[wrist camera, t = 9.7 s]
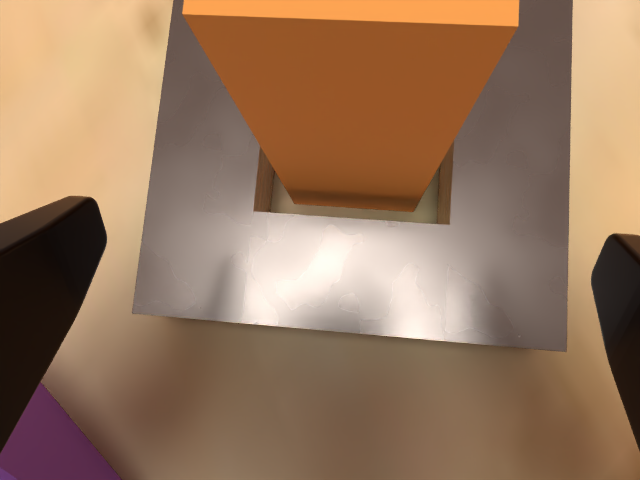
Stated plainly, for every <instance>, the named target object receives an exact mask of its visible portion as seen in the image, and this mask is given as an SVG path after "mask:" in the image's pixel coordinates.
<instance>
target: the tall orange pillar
mask: <svg viewBox="0 0 640 480" xmlns="http://www.w3.org/2000/svg"><path fill="white" fill-rule="evenodd" d="M182 15H183V16H184V18H185V20H186V21H187V23H188V25H189V26H190V28H191V30H192V32H193V33H194V35H195V37H196V38H197V40H198V42H199V43H200V45H201V47H202V48H203V50H204V52H205V53H206V55H207V57H208V59H209V60H210V62H211V64H212V65H213V67H214V69H215V70H216V72H217V74H218V75H219V77H220V79H221V80H222V82H223V84H224V86H225V87H226V89H227V91H228V92H229V94H230V96H231V97H232V99H233V101H234V102H235V104H236V106H237V108H238V109H239V111H240V113H241V114H242V116H243V118H244V119H245V121H246V123H247V124H248V126H249V128H250V129H251V131H252V133H253V135H254V136H255V138H256V140H257V141H258V143H259V145H260V146H261V148H262V150H263V151H264V153H265V155H266V156H267V158H268V160H269V162H270V163H271V165H272V167H273V168H274V170H275V172H276V173H277V175H278V177H279V178H280V180H281V182H282V184H283V185H284V187H285V189H286V190H287V192H288V194H289V195H290V197H291V199H292V200H293V202H294V204H306V205H320V206H335V207H349V208H364V209H379V210H393V211H408V212H413V211H414V210H415V208H416V206H417V204H418V203H419V201H420V199H421V197H422V196H423V194H424V192H425V190H426V188H427V187H428V185H429V183H430V181H431V180H432V178H433V176H434V174H435V173H436V171H437V169H438V167H439V166H440V164H441V162H442V160H443V158H444V157H445V155H446V153H447V151H448V150H449V148H450V146H451V144H452V143H453V141H454V139H455V137H456V135H457V134H458V132H459V130H460V128H461V127H462V125H463V123H464V121H465V120H466V118H467V116H468V114H469V113H470V111H471V109H472V107H473V105H474V104H475V102H476V100H477V98H478V97H479V95H480V93H481V91H482V90H483V88H484V86H485V84H486V83H487V81H488V79H489V77H490V75H491V74H492V72H493V70H494V68H495V67H496V65H497V63H498V61H499V60H500V58H501V56H502V54H503V53H504V51H505V49H506V47H507V45H508V44H509V42H510V40H511V38H512V37H513V35H514V33H515V31H516V30H517V28H518V20H519V0H184V4H183V12H182Z"/></svg>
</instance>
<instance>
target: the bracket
mask: <svg viewBox="0 0 640 480" xmlns="http://www.w3.org/2000/svg"><path fill="white" fill-rule="evenodd" d="M0 480H122V479H121V478H120V477H119V476H118V475H117V473H116V472H115V471H114V470H113V469H112V467H111V466H110V465H109V464H108V463H107V461H106V460H105V459H104V458H103V457H102V455H101V454H100V453H99V452H98V451H97V449H96V448H95V447H94V446H93V445H92V443H91V442H90V441H89V440H88V439H87V437H86V436H85V435H84V434H83V433H82V431H81V430H80V429H79V428H78V427H77V425H76V424H75V423H74V422H73V421H72V419H71V418H70V417H69V416H68V415H67V413H66V412H65V411H64V410H63V408H62V407H61V406H60V405H59V404H58V402H57V401H56V400H55V399H54V398H53V396H52V395H51V394H50V393H49V392H48V390H47V389H46V388H45V387H44V386H43V384H42V383H41V382H40V384H39V385H38V387H37V389H36V391H35V393H34V394H33V396H32V398H31V400H30V402H29V403H28V405H27V407H26V409H25V411H24V412H23V414H22V416H21V418H20V420H19V421H18V423H17V425H16V427H15V429H14V430H13V432H12V434H11V436H10V438H9V439H8V441H7V443H6V445H5V447H4V448H3V450H2V452H1V454H0Z"/></svg>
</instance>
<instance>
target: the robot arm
mask: <svg viewBox="0 0 640 480" xmlns="http://www.w3.org/2000/svg"><path fill="white" fill-rule="evenodd" d="M106 244H107V234H106V230H105V227H104V224H103V220H102V217H101V214H100V210H99V207H98V204H97V202H96V201H95V200H94V199H93V198H91V197H85V196H68V197H65V198H63V199H60V200H58V201H55V202H53V203H50V204H48V205H45V206H43V207H40V208H38V209H35V210H33V211H30V212H28V213H25V214H23V215H20V216H18V217H15V218H13V219H10V220H8V221H5V222H3V223H0V454H1V452H2V450H3V448H4V447H5V445H6V443H7V441H8V439H9V438H10V436H11V434H12V432H13V430H14V429H15V427H16V425H17V423H18V421H19V420H20V418H21V416H22V414H23V412H24V411H25V409H26V407H27V405H28V403H29V402H30V400H31V398H32V396H33V394H34V393H35V391H36V389H37V387H38V385H39V384H40V382H41V380H42V378H43V376H44V374H45V373H46V371H47V369H48V367H49V365H50V364H51V362H52V360H53V358H54V356H55V355H56V353H57V351H58V349H59V347H60V346H61V344H62V342H63V340H64V338H65V337H66V335H67V333H68V331H69V329H70V328H71V326H72V324H73V322H74V320H75V318H76V316H77V314H78V312H79V310H80V308H81V306H82V303H83V301H84V299H85V296H86V294H87V291H88V289H89V286H90V284H91V282H92V279H93V277H94V274H95V272H96V270H97V267H98V265H99V262H100V260H101V257H102V255H103V253H104V250H105V248H106ZM591 285H592V290H593V295H594V299H595V304H596V308H597V313H598V318H599V322H600V327H601V331H602V336H603V341H604V345H605V350H606V354H607V358H608V362H609V365H610V368H611V371H612V374H613V377H614V380H615V383H616V385H617V388H618V391H619V394H620V397H621V400H622V402H623V405H624V408H625V411H626V414H627V417H628V420H629V422H630V425H631V428H632V431H633V434H634V437H635V439H636V442H637V445H638V448H639V451H640V236H639V235H633V234H618V233H615V234H612V235H610V236H609V237H608V238H607V239H606V241H605V243H604V246H603V248H602V250H601V252H600V255H599V257H598V259H597V262H596V264H595V266H594V269H593V271H592V276H591Z"/></svg>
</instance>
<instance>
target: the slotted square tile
mask: <svg viewBox="0 0 640 480" xmlns="http://www.w3.org/2000/svg"><path fill="white" fill-rule="evenodd" d="M183 4H184V0H174V1H173V8H172V16H171V23H170V31H169V38H168V46H167V53H166V61H165V68H164V76H163V83H162V91H161V99H160V106H159V114H158V121H157V129H156V136H155V144H154V151H153V159H152V166H151V174H150V181H149V189H148V196H147V204H146V211H145V219H144V227H143V234H142V242H141V249H140V257H139V264H138V272H137V279H136V287H135V294H134V302H133V309H132V313H133V314H144V315H155V316H166V317H178V318H189V319H200V320H212V321H223V322H234V323H245V324H257V325H268V326H279V327H291V328H302V329H313V330H324V331H336V332H347V333H358V334H369V335H381V336H392V337H403V338H415V339H426V340H437V341H448V342H460V343H471V344H482V345H494V346H505V347H516V348H527V349H539V350H550V351H561V352H566V348H567V291H568V235H569V178H570V121H571V64H572V7H573V0H519V20H518V28H517V30H516V31H515V33H514V35H513V37H512V38H511V40H510V42H509V44H508V45H507V47H506V49H505V51H504V53H503V54H502V56H501V58H500V60H499V61H498V63H497V65H496V67H495V68H494V70H493V72H492V74H491V75H490V77H489V79H488V81H487V83H486V84H485V86H484V88H483V90H482V91H481V93H480V95H479V97H478V98H477V100H476V102H475V104H474V105H473V107H472V109H471V111H470V113H469V114H468V116H467V118H466V120H465V121H464V123H463V125H462V127H461V128H460V130H459V132H458V134H457V135H456V137H455V139H454V141H453V143H452V144H451V146H450V148H449V150H448V151H447V153H446V155H445V157H444V158H443V160H442V162H441V164H440V173H439V192H438V211H437V224H428V223H414V222H399V221H385V220H370V219H356V218H341V217H327V216H312V215H298V214H283V213H270V205H271V195H272V185H273V175H274V168H273V167H272V165H271V163H270V162H269V160H268V158H267V156H266V155H265V153H264V151H263V150H262V148H261V146H260V145H259V143H258V141H257V140H256V138H255V136H254V135H253V133H252V131H251V129H250V128H249V126H248V124H247V123H246V121H245V119H244V118H243V116H242V114H241V113H240V111H239V109H238V108H237V106H236V104H235V102H234V101H233V99H232V97H231V96H230V94H229V92H228V91H227V89H226V87H225V86H224V84H223V82H222V80H221V79H220V77H219V75H218V74H217V72H216V70H215V69H214V67H213V65H212V64H211V62H210V60H209V59H208V57H207V55H206V53H205V52H204V50H203V48H202V47H201V45H200V43H199V42H198V40H197V38H196V37H195V35H194V33H193V32H192V30H191V28H190V26H189V25H188V23H187V21H186V20H185V18H184V16H183V15H182V12H183Z"/></svg>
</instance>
